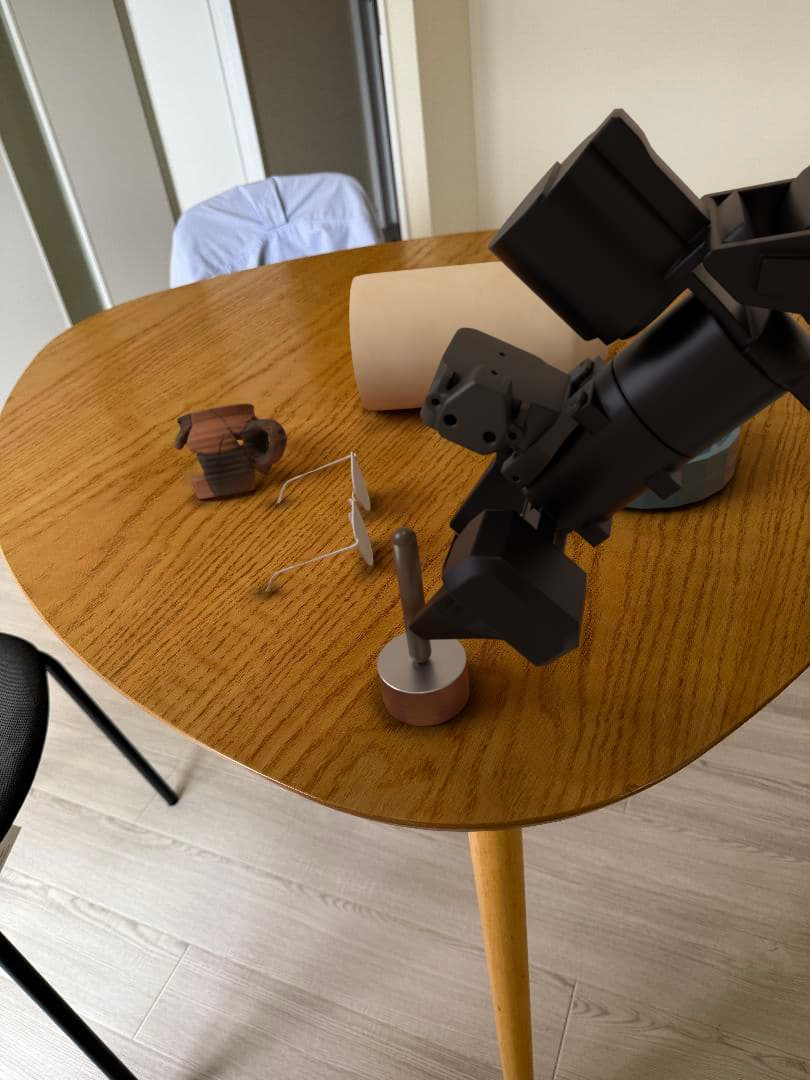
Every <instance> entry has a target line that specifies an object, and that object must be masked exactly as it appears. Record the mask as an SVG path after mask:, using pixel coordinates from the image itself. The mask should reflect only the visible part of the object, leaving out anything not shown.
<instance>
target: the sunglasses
mask: <svg viewBox="0 0 810 1080" xmlns="http://www.w3.org/2000/svg"><path fill="white" fill-rule="evenodd" d="M349 459H350V462H351V463H350V471H351V472H350V473H351V483H352V487H353V490H352V491H351V498H349V499H348V500H347V501H348V503H349V504H350V506H351V512H349V514H348V519H349V522H350V523H351V526H352V532H353V536H354V540H355V543H354V544H352V545H349V546H347V547H344V548H341V549H339V550H336V551H333V552H330V553H328V554H325V555H323V556H319V557H317V558H314V559H311V560H308V561H305V562H302V563H300V564H297V565H292V566H290V567H287V568H284V569H281V570H279V571H276V572H275V573H274V574H273V575H272V577H271V578H270V580H269V582H268V586H267V588H266V589H265V592H267V593H268V592H270V591H271V587H272V585H273V582H274V579H275V578H276V577H277V576H278V575H279V574H281V573H284V572H288V571H291V570H293V569H295V568H297V567H300V566H303V565H306V564H309V563H314V562H316V561H319V560H323V559H325V558H328V557H331V556H335V555H338V554H341V553H345V552H348V551H350V550H354V549H356V548H358V550H359V552H360V554H361V557H362V558H363V560H364V562H365V563H366V564H367V566H369V567H372V566H373V565H374V564H373V563H374V556H373V555H374V554H373V549H372V544H371V540H370V538H369V534H368V531H367V527H366V525H365V522H364V519H363V516H362V514H361V512H360V509H359V507H358V505H357V504H359V505H360V506H361V507H362V508H363V509H364V511H366V512H370V510H371V500H370V496H369V492H368V488H367V485H366V482H365V479H364V475H363V473H362V471H361V467H360V466H359V462H358V460H357V459H358V456H357V453H354V452H353V451H350V454H349V455H347V456H345V457H342V458H340V459H338V460H335V461H332V462H330V463H327V464H325V465H323V466H321V467H318V468H316V469H314V470H311V471H309V472H306V473H304V474H300V475H297V476H295V477H293V478H291V479H288V480H287V481H286V482H285V483H284V484H283V486H282V487H281V490H280V493H279V496H278V499H277V501H276V504H281V501H282V498H283V494H284V490H285V488H286V486H287V485H288V484H289V483H291V482H294V481H295V480H297V479H300V478H303V477H304V476H305V475H306V476H307V475H308V474H311V473H314V472H317V471H320V470H321V469H324V468H327V467H329V466H332V465H335V464H338V463H340V462H343V461H346V460H349ZM355 497H356V498H357V499H355Z"/></svg>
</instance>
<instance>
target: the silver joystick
mask: <svg viewBox="0 0 810 1080" xmlns="http://www.w3.org/2000/svg"><path fill="white" fill-rule="evenodd" d="M391 546H392V553H393V557H394V558H393V560H394V565H395V571H396V577H397V585H398V593H399V598H400V604H401V611H402V616H403V617H402V618H403V623H404V624H403V625H404V629H405V632H402V633H401V634H399V635H397V636H395V637H393V638H392V639H390V640H389V641H388V642H387V643H386V644H385V645H384V646H383V647H382V649H381V650H380V652H379V654H378V657H377V661H376V668H377V676H378V680H379V686H380V690H381V696H382V700H383V704H384V707H385V708H386V710H387V712H388V713H389V714H390V715H391V716H392V717H393V718H395V720H398V721H399V722H402V723H404V724H406V725H409V726H414V727H431V726H436V725H440V724H443V723H445V722H448V721H449V720H452V719H453V718H454V717H456V716H457V715H458V714H459V713H461V711H462V710H463V709H464V708H465V706H466V704H467V703H468V700H469V697H470V691H471V690H470V682H469V679H470V678H469V669H468V659H467V652H466V649H465V647H464V646H463V644H462V643H461V642H460V641H459V639H448V640H422V639H420V638H419V637H418V636H416V635H415V634H414V633H412V632H411V631H410V630H409V628H408V627H409V624H410V622H411V621H412V620H413V618H414V617H415V616H416V615H417V614H418V612H419V611H420V610H421V609H422V608H423V606H424V605H425V604H426V597H425V590H424V583H423V575H422V566H421V562H420V561H421V560H420V552H419V544H418V538H417V534H416V532H415V531H414V529H412V528H411V527H409V526H399V527H397V528H396V529H395V530H394V531H393V532H392V534H391Z"/></svg>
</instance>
